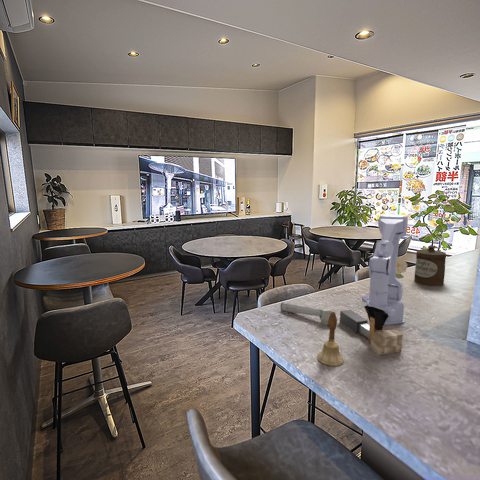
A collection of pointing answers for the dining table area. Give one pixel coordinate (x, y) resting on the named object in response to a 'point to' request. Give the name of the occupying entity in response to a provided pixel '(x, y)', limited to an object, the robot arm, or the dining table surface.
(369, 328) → the brown and grey block
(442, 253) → the wooden container
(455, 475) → the dining table surface
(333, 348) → the hand bell
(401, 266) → the flower in vase
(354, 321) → the sleeve
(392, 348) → the socket block
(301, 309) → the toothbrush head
